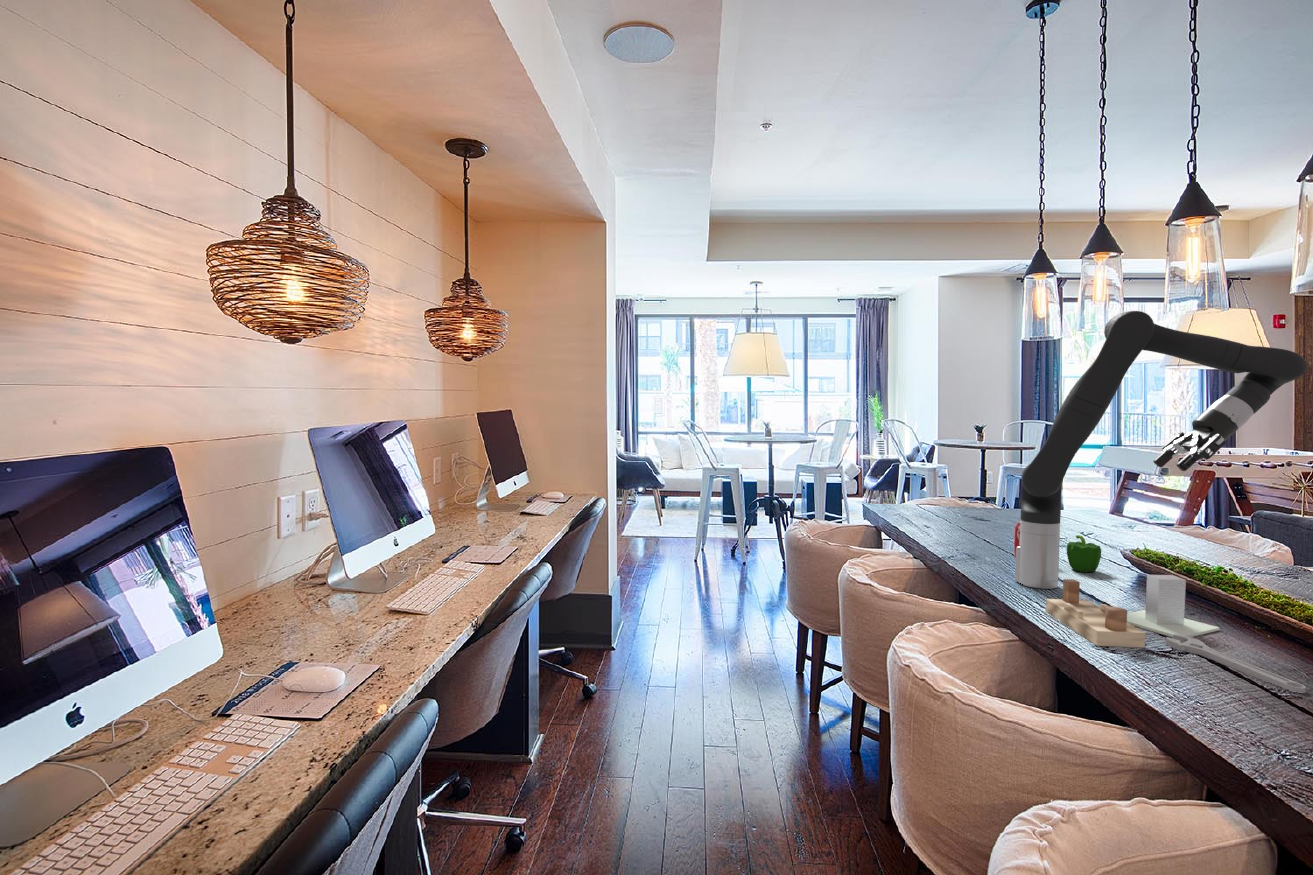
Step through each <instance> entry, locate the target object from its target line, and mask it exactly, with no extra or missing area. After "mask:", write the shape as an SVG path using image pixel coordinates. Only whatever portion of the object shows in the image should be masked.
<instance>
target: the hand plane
mask: <svg viewBox="0 0 1313 875" xmlns="http://www.w3.org/2000/svg"><path fill="white" fill-rule="evenodd" d="M1080 585H1081V583H1080V581H1078V580H1077V579H1074V578H1073V579H1072V578H1071V579H1069V578H1063V579H1062V598H1060V599H1059V598H1045V612H1046V611H1047V612H1048V613H1047V612H1046V613H1047V614H1049V615H1050V614H1051V615H1050V616H1052V617H1053V618H1055V619H1056V618H1057V619H1056V620H1058V619H1059V620H1060V621H1059V620H1058V621H1059V622H1061V623H1062V624H1064V625H1065V626H1066V627H1068V626H1069V627H1068V628H1069V629H1071V630H1072V631H1073V632H1075V633H1077V634H1079V635H1080V636H1082V637H1083V638H1084V639H1086V640H1087V641H1089V642H1091V643H1092V644H1094V646H1096V647H1097V646H1099V647H1116V648H1117V647H1120V648H1121V647H1122V648H1146V632H1144V631H1143V630H1141V629H1139V627H1136V626H1132V625H1130V624H1129V623H1127V613H1128V610H1127V609H1125V608H1123V607H1117V606H1110V605H1108V604H1106V603H1100V606H1099V605H1096V604H1095V603H1093V602H1091V601H1089V600H1087V599H1080Z"/></svg>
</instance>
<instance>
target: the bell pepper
mask: <svg viewBox="0 0 1313 875" xmlns="http://www.w3.org/2000/svg"><path fill="white" fill-rule="evenodd" d="M1075 538H1076V539H1080V541H1078V540H1077V541H1068V543H1067V544H1066V555H1067V560H1068V564H1069V567H1071V569H1072V570H1075V571H1077V572H1083V573H1088V572H1096V570H1097V569H1098V567H1099V565H1100V561H1101V558H1102V548H1101V546H1100V545H1098V544H1095V543H1093V542H1088V543H1086V539H1085V537H1083V536H1082V535H1079V534H1078V535H1075Z"/></svg>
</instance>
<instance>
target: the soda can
mask: <svg viewBox="0 0 1313 875" xmlns="http://www.w3.org/2000/svg"><path fill="white" fill-rule="evenodd" d="M1016 522H1017V523H1016V525H1015V527H1014V540H1013V556H1014V557H1013V558H1015V559H1016V547H1018V546H1020V522H1021V519H1020V520H1017V521H1016Z"/></svg>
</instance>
